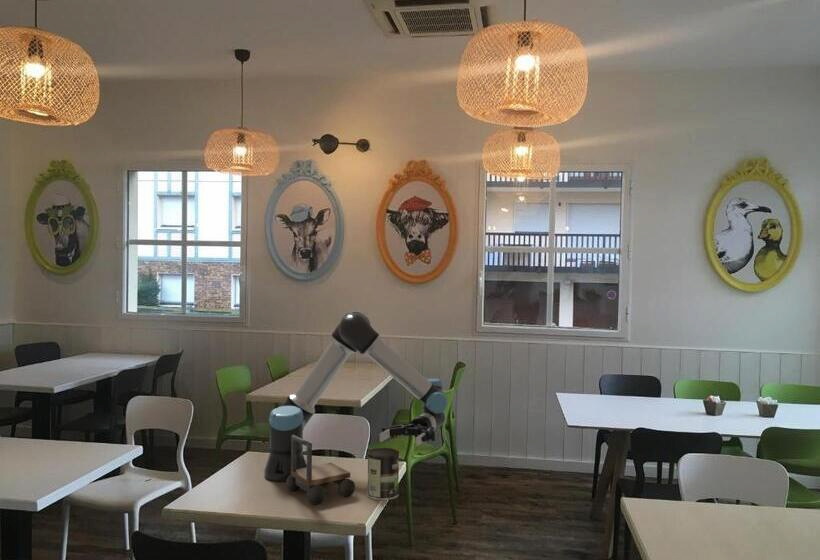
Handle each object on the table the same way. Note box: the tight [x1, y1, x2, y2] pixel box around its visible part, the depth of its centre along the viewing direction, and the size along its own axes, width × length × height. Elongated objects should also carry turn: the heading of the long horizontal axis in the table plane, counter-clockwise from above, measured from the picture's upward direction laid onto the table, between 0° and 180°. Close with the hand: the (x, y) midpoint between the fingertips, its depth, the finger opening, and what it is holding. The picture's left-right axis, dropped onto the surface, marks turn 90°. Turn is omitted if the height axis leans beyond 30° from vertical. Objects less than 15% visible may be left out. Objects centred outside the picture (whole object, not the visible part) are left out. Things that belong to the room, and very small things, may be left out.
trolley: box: [285, 435, 356, 505], centre depth 209 cm, size 17×17×19 cm
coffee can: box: [367, 447, 400, 501], centre depth 207 cm, size 10×10×14 cm
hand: (398, 439), depth 216 cm, fingers open, 13 cm apart
